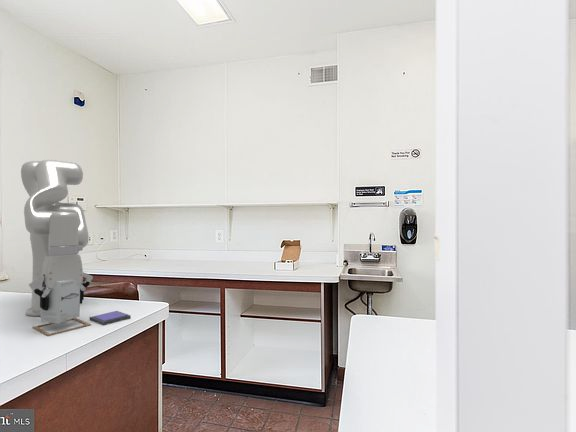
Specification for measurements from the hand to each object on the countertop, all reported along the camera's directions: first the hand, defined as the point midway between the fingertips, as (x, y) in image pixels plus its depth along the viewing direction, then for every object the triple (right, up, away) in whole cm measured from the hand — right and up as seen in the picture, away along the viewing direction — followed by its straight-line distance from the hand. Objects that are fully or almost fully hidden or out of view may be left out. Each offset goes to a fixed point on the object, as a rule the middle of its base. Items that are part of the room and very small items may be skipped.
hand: (62, 306), depth 99 cm
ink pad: (+11, -7, +8) cm, 15 cm away
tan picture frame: (0, -6, 0) cm, 6 cm away
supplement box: (-1, -4, 0) cm, 4 cm away
